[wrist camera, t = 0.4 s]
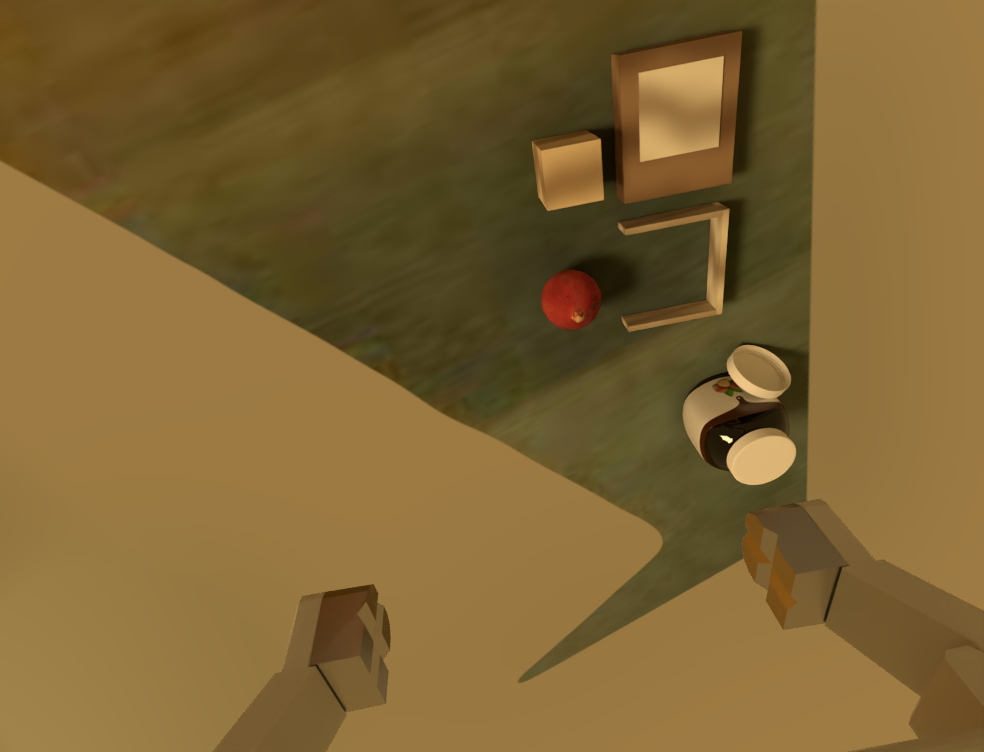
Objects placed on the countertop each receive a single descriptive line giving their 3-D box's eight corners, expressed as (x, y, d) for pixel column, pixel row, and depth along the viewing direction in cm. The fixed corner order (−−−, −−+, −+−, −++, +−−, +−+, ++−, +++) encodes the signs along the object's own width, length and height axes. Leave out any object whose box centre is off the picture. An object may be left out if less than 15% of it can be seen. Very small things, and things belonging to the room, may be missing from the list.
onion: (590, 255, 55) (613, 286, 48) (590, 306, 58) (611, 342, 51) (534, 262, 55) (548, 294, 48) (537, 313, 58) (551, 350, 51)
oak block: (531, 140, 49) (541, 150, 44) (586, 129, 49) (600, 138, 44) (538, 196, 51) (547, 210, 47) (589, 186, 51) (604, 199, 47)
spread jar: (677, 432, 69) (718, 498, 59) (669, 360, 63) (713, 420, 53) (771, 407, 68) (827, 469, 58) (772, 331, 62) (836, 387, 52)
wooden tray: (611, 54, 45) (620, 55, 43) (728, 30, 45) (743, 30, 43) (621, 321, 59) (629, 332, 57) (711, 303, 59) (722, 314, 57)
